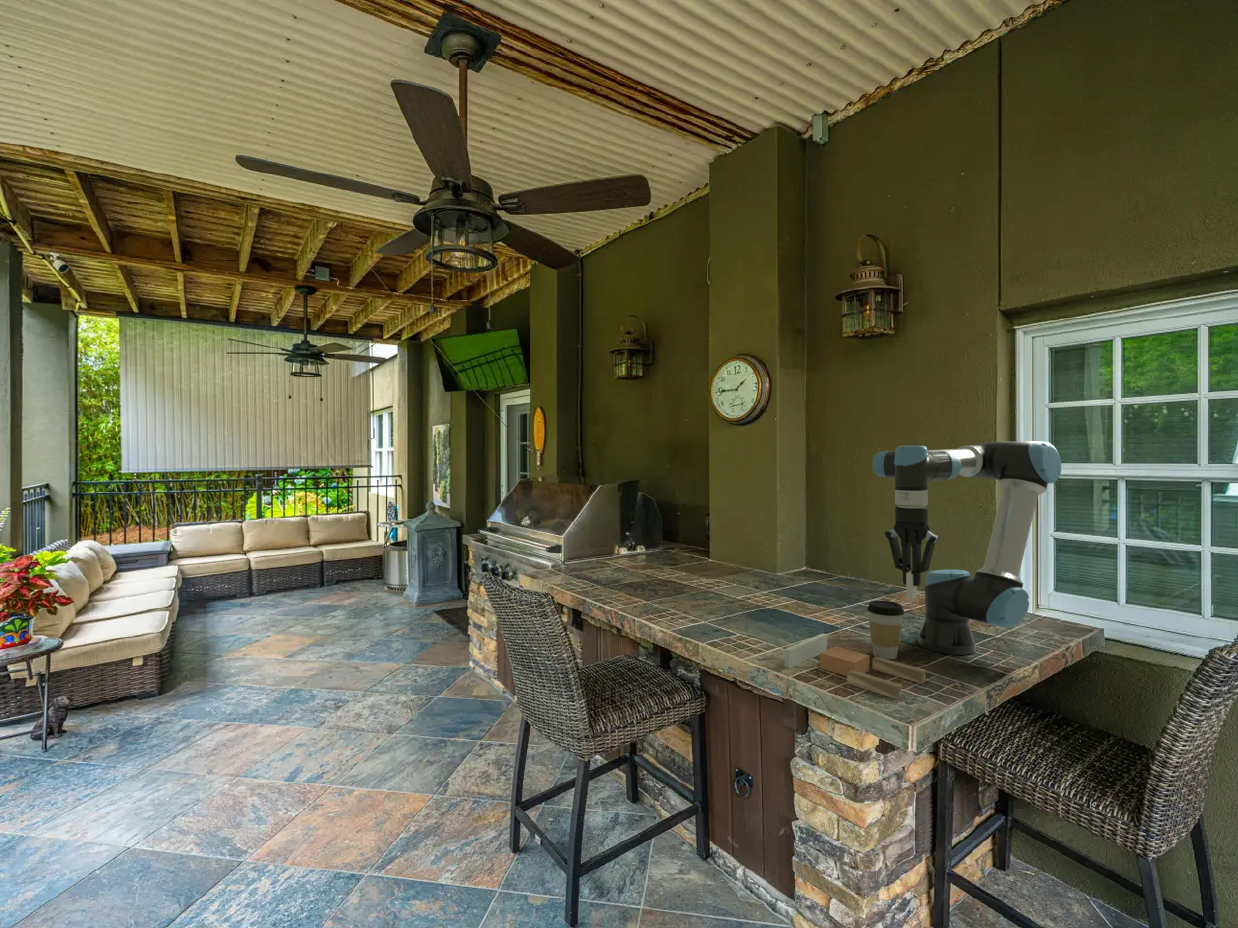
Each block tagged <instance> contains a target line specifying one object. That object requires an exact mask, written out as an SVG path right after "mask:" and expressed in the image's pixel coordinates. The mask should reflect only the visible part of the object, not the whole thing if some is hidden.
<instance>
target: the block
mask: <svg viewBox="0 0 1238 928" xmlns="http://www.w3.org/2000/svg"><path fill="white" fill-rule="evenodd" d="M819 668H820V669H822V670H825V671H829V672H831V673H834V674H835V673H836V674H838V675H842V676H845V677H847V672H848V671H850V670H853V671H856V672H860V673H863V674H866V673H868V672H870V655H869V654H865V653H861V652H858V651H854V650H852V649H851V650H850V649H847V648H843V647H839V646H837V645H835V646H833V647H830V648H827V650H825V651H823V652H821V653H820V654H819Z"/></svg>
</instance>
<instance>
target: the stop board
mask: <svg viewBox="0 0 1238 928" xmlns="http://www.w3.org/2000/svg"><path fill="white" fill-rule="evenodd" d="M827 644H828V634H826V633H823V632H822V633H820V634H818V635H815V636H813V637H810V638H808V639H805V640H804V641H801V642H799V643H795V644H793V645H791V646H788V647H787V648H784V667H785V668H786V667H787V669H790V668H793V667H795V666H797V664H798V665H799V664H803V663H804V662H806V661H808V660H810V659H812V658H816V657H817V656H820V653H821V652H823V651H825V650H828V648H827V647H828V645H827Z"/></svg>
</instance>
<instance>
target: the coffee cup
mask: <svg viewBox="0 0 1238 928" xmlns="http://www.w3.org/2000/svg"><path fill="white" fill-rule="evenodd" d="M866 611H868V615H869V619H868V620H869V621H868V622H869V629H870V637H871V638H870V639H871V645H872V652H873V656H874V657H879V658H882V659H886V660H895V659H897V657H898V651H899V646H900V639H901V635H902V634H901V632H902V627H903V622H902V621H903V615H904V614H905V610H904V609H903V605H902V604H901V603H898V602H895V601H889V600H873V601H870V602H869V605H868V606H867V609H866Z"/></svg>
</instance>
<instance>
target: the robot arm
mask: <svg viewBox="0 0 1238 928" xmlns="http://www.w3.org/2000/svg"><path fill="white" fill-rule="evenodd" d="M871 465H872V470H873V471H872V472H874V474H875V475H876V476H878V477H879V478H886V479H894V480H895V481H894V504H895V505H896V506H895V507H894V520H895V523H894V525H893V528H892V529H890V530H887V531H884V535H885V537H886V538H887V539H888V543H889V547H890V552H891V556H892V559H893V563H894V567H895V568H896V569H898V570H900V571H901V572H902V583H903V585H906V587H905V589H906V590H905V591H906V592H905V593H906V594H905V595H906V599H909V600H914V599H915V598H917V597H918V587H919V586H920V585H921V582H922V581H921V574H922V573H925V572H927V571H928V572H927V573H926V574H925V583H924V587H925V588H924V594H925V595H924V605H925V606H924V621H923V622H922V625H921V628H920V631H919V633H918V639H917V641H918V645H919V646H920V647H922V648H924V649H926V650H929V651H932V652H935V653H939V654H947V655H956V656H957V655H958V656H959V655H960V656H963V655H970V654H973V653H975V652H976V641H975V638H974V635H973V632H972V629H971V625H970V620H973V621H977V622H980V623H983V624H987V625H989V626H992V627H998V628H1004V629H1011V628H1015V627H1017V626H1018V624H1020V623H1021V622H1022V621H1024V619H1025V617H1026V615H1027V613H1028V611H1029V608H1030V607H1029V605H1030V600H1029V599H1030V597H1029V594H1028V592H1027V591H1026V590H1025V589H1023V587H1024V582H1023V581H1022V580H1021V578H1020V571H1021V568H1022V563H1023V558H1024V555H1025V551H1026V547H1027V543H1028V538H1029V534H1030V531H1031V527H1032V521H1033V519H1034V514H1035V511H1036V506H1037V501H1038V497H1039V496H1040V495H1042V494H1044V493H1045V492H1046V491H1047V487H1048V484H1053V483H1055V482H1057V481H1058V480H1059V479H1060V477H1061V473H1062V460H1061V456H1060V454H1059V451H1058V450H1057V448H1056V447H1055V446H1054V445H1053V444H1051V442H1047V441H1035V440H1030V441H1029V440H1027V441H1019V440H1018V441H1003V440H1002V441H990V442H989V441H988V442H984V443H983V442H982V443H977V444H975V443H974V444H969V445H968V444H966V445H961V446H959V447H958V448H948V449H928V448H927V446H926V445H899V446H897V447H896V448H895V450H893V451H891V450H886V451H885V450H884V451H879V452H877V453H876V454H875V455H874V456H873V459H872V464H871ZM959 475H960V476H961V477H965V478H970V477H972V478H973V477H974V478H982V479H989V480H997V481H998V484H999V486H1000V487H1001V488H1002V491H1001V496H1000V500H999V503H998V508H997V512H996V516H995V520H994V524H993V527H992V531H991V535H990V540H989V543H988V547H987V551H986V555H985V560H984V563H983V567H981V568H979V569H977V570H975V574H974V578H972V577H971V574H970V571H967V570H963V569H937V570H931V571H929V569H930V564H931V562H932V561H931V560H932V558H933V555H934V550H935V545H936V544H937V543H938V541H939V540H940V535H938V534H934V533H932V532H931V529H930V526H929V525H928V524H929V523H928V522H929V515H928V514H929V509H928V507H926V506H928V504H929V503H928V502H929V499H928V498H929V495H928V492H929V491H928V488H929V487H928V482H935V481H944V482H945V481H946V482H947V481H948V480H953V479H955V478H956V477H957V476H959ZM897 536H898V537H899V539H900V543H899V540H898V537H897ZM925 538H926V544H925V547H924V551H923V555H922V545H923V541H924V539H925ZM900 545H901V548H900Z"/></svg>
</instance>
